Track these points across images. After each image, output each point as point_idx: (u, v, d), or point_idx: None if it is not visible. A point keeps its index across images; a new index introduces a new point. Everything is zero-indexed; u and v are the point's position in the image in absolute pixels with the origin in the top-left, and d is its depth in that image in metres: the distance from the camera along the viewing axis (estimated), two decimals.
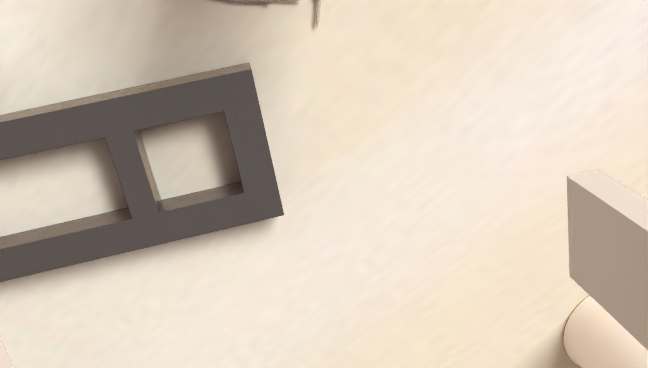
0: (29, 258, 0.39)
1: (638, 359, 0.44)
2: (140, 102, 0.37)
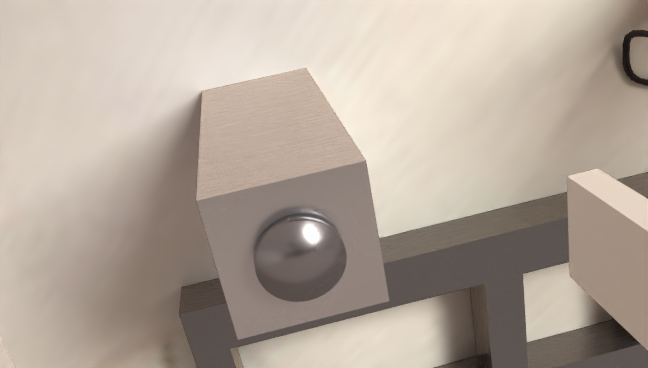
0: None
1: None
2: (542, 236, 0.26)
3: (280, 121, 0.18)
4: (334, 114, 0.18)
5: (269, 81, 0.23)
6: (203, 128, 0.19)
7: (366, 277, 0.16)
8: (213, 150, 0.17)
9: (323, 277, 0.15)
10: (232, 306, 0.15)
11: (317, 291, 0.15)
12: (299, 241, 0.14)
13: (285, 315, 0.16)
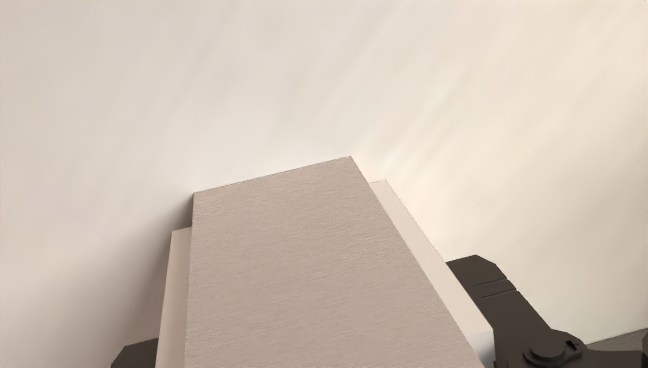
0: None
1: None
2: None
3: (330, 290, 0.10)
4: (428, 284, 0.10)
5: (297, 181, 0.15)
6: (194, 293, 0.11)
7: None
8: (210, 367, 0.09)
9: None
10: None
11: None
12: None
13: None
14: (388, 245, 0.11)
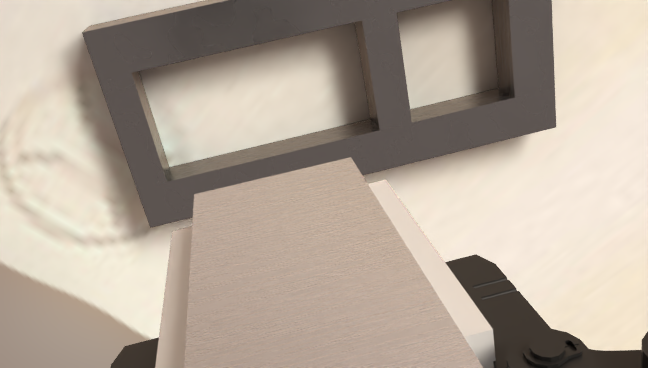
0: None
1: None
2: None
3: (330, 293, 0.10)
4: (429, 286, 0.10)
5: (297, 182, 0.15)
6: (194, 295, 0.11)
7: None
8: None
9: None
10: None
11: None
12: None
13: None
14: (388, 247, 0.11)
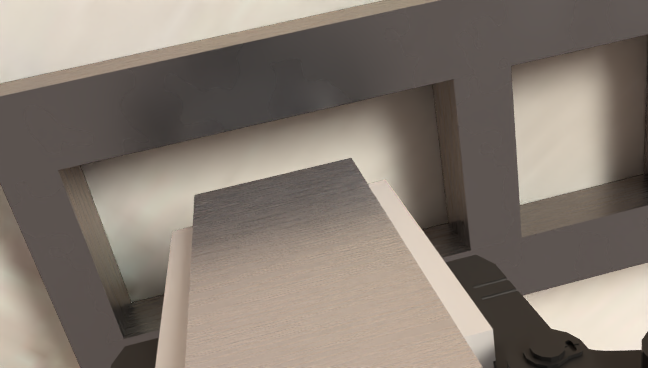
0: None
1: None
2: (539, 1, 0.17)
3: (331, 293, 0.10)
4: (429, 287, 0.10)
5: (297, 183, 0.15)
6: (194, 296, 0.11)
7: None
8: None
9: None
10: None
11: None
12: None
13: None
14: (389, 248, 0.11)
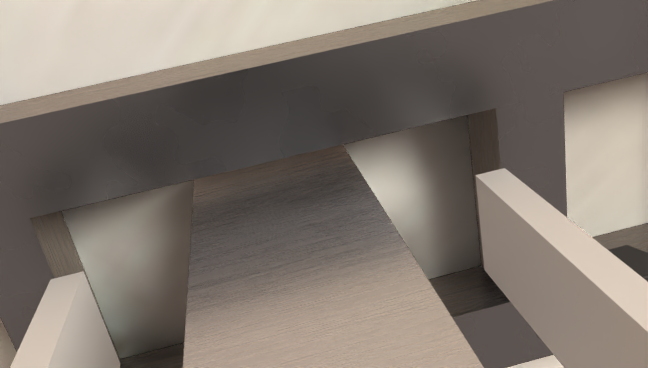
0: None
1: None
2: (599, 17, 0.14)
3: (318, 260, 0.11)
4: (407, 251, 0.11)
5: (290, 166, 0.16)
6: (194, 265, 0.12)
7: None
8: (208, 326, 0.10)
9: None
10: None
11: None
12: None
13: None
14: (372, 219, 0.12)
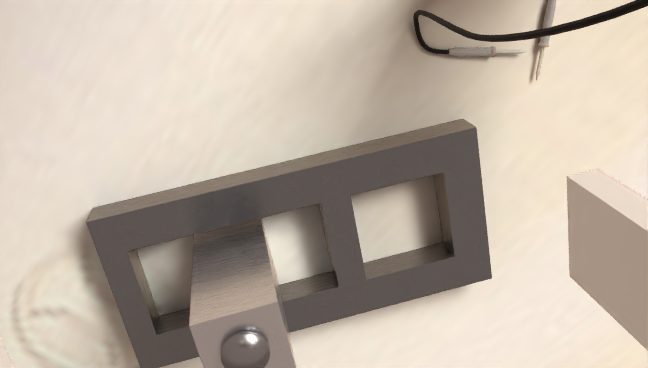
0: None
1: None
2: (361, 165, 0.35)
3: (238, 265, 0.31)
4: (268, 262, 0.31)
5: (236, 226, 0.36)
6: (194, 268, 0.32)
7: (283, 360, 0.29)
8: (199, 288, 0.30)
9: (258, 362, 0.28)
10: None
11: None
12: (243, 344, 0.27)
13: None
14: (261, 251, 0.32)
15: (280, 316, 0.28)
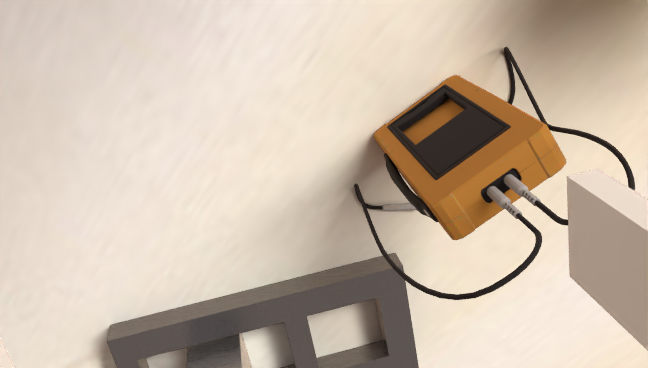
0: None
1: None
2: (314, 295, 0.46)
3: None
4: None
5: None
6: None
7: None
8: None
9: None
10: None
11: None
12: None
13: None
14: (237, 365, 0.43)
15: None
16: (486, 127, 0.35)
